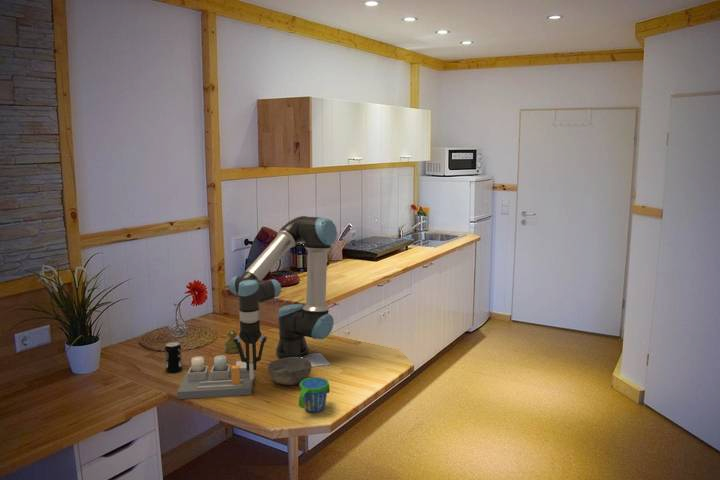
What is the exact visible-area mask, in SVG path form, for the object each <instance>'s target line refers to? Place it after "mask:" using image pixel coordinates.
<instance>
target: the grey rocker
mask: <svg viewBox="0 0 720 480" xmlns="http://www.w3.org/2000/svg"><path fill="white" fill-rule="evenodd" d="M237 365H240V371H247V368H246V362H242V361H241V360H237V361H236V362H235V366H237Z"/></svg>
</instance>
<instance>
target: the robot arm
mask: <svg viewBox="0 0 720 480" xmlns="http://www.w3.org/2000/svg"><path fill="white" fill-rule="evenodd" d="M337 230H338V229H337V226H336V224H335V223H334V222H333V220H331V219H330V218H326V217H322V216H321V217H320V216H319V217H318V216H305V215H302V216H298V217H295V218H293V219H291V220H290V221H288V222H287V223H285V224H284V225H283V226H281V228H280V229H279V230H278V231H277V232H276V237H275V238H274V239H273V240H272V241H271V242H270V243H269V245H267V247H266V248H265V249H264V250H263V251H262V252H261V253H260V254H259V256H258V257H257V258H256V259H255V260H254V261H253V262H252V263H251V264H250V265H249V266H248V268H247V269H246V270H245V271H244V272H243V273H242V274H241V275H240V276H239V275H238V276H237V275H236V276H233V277H231V279H230V280H229V284H228V288H229V290H230V292H231V293H232V294H234V295H237V296H238V305H239V311H238V312H239V334H238V336H235V338H234V342H235V343H236V345H237V348H238V351H239V352H238V353H239V357H240V361H242V362H246V368H247V371H250V379H254V380H255V371H257V362H260V361H261V359H262V354H263V352H264V351H263V350H264V346H265V343H266V342H267V340H268V336H267V335H264V334H262V332H261V325H260V324H261V323H260V303H262V302H266V301H269V300H274V299H275V298H277V297H280V295H281V293H282V286H281V284H280V282H279V281H278V280H276V279H275V278H274V279H268V280H263V279H264V278H265V277H266V276H267V274H268V273H269V272H270V271H271V270H272V268H274V266H275V265H276V264H277V263H278V262H279V261H280V259H281V258H282V257H283V256H284V255H285V254H286V253H287V251H288V250H289V249H290V248H294V246H296V244H298V243H304V248H305V250H307V268H306V270H307V271H306V299H305V301H306V302H305V303H306V304H305V305H303V304H301V303H295V304H287V305H284V306H282V307H280V308H279V310H278V335H279V336H278V337H279V338H278V341H277V345H276V349H275V355H276V357H277V358H279V359H282V358H289V357H303V358H305V357H307V356H309V354H310V350H309V349H310V348H309V346H308V343H307V340H306V337H307V338H310V339H311V338H312V339H314V340H325V339H326V338H328V336H329V335H330V333H332V330H333V327H334V324H335V323H334V322H335V321H334V318H333V316H332V315H331V314H329V310H330V309H329V307H328V306H327V305H326V301H327V300H326V299H327V298H326V297H327V271H328V268H327V266H328V252H329V251H330V250H331V249H332V245H333V244H335V243H336V239H337V237H338V231H337ZM259 339H260V346H259V349H258V353H257V347H256V345H257V342H258V340H259ZM240 341H242V342H243V343H244V344H245V347H244V348H245V354H244V351H243V346H242V342H241V343H240ZM250 345H251V349H252V351H251V352H252V360H251V359H250ZM306 355H307V356H306ZM304 356H305V357H304Z"/></svg>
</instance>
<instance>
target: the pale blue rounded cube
mask: <svg viewBox="0 0 720 480" xmlns="http://www.w3.org/2000/svg"><path fill="white" fill-rule="evenodd" d="M213 363H214V365H213V366H214V367H215V371H224V370H226V369H227V365H228V363H227V356H226V355H223V354H222V355H217V356H214V357H213Z"/></svg>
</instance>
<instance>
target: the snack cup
mask: <svg viewBox="0 0 720 480" xmlns="http://www.w3.org/2000/svg"><path fill="white" fill-rule="evenodd" d="M298 384H299V388H300V394H299V398H298V407H299V408H302V409H305V410H306V411H307V412H308V411H310V412H309V413H315V412H316V413H319V412H318V411H320V412H322V411H324V409H325V408H326V404H327V396H328V395H327V394H329V393H330V392H331V391H330V390H331V389H330V383H329V380H327V379H326V378H323V377H316V376H314V377H306V378H305V379H304V380H302V381H301V382H300V383H298ZM321 410H322V411H321Z"/></svg>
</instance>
